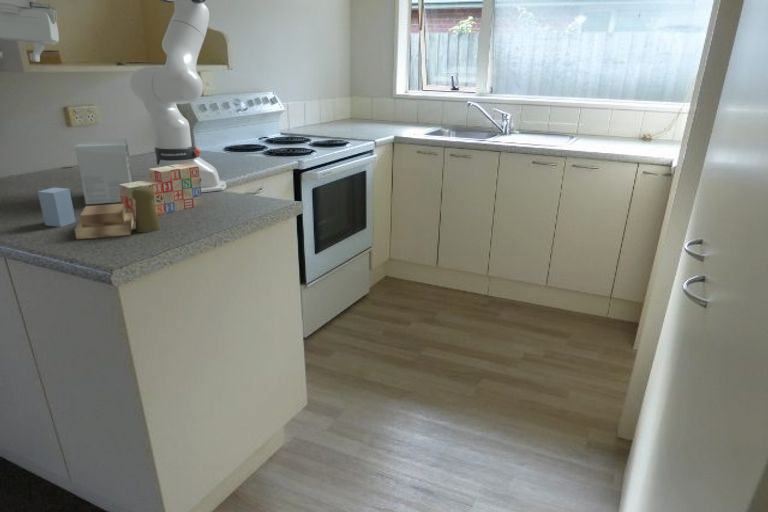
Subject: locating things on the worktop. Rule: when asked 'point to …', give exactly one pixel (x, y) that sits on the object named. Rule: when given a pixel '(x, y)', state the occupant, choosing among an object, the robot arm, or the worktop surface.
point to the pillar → (56, 206)
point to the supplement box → (103, 169)
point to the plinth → (105, 229)
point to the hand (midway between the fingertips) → (16, 59)
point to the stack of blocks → (167, 189)
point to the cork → (145, 210)
